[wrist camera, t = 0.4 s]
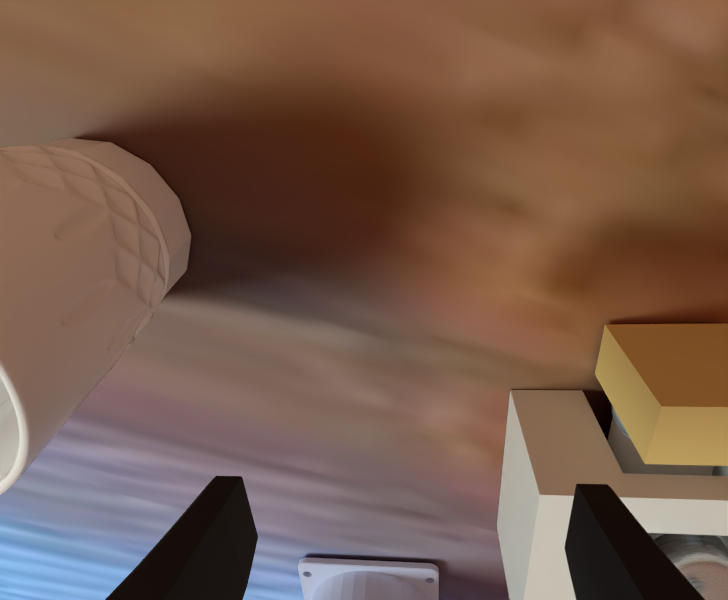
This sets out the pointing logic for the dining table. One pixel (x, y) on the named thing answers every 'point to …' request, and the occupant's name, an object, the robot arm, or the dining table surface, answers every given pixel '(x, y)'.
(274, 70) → the dining table surface
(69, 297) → the white cup
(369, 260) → the dining table surface
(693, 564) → the plunger
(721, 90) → the dining table surface
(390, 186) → the dining table surface
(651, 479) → the housing
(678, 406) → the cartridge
